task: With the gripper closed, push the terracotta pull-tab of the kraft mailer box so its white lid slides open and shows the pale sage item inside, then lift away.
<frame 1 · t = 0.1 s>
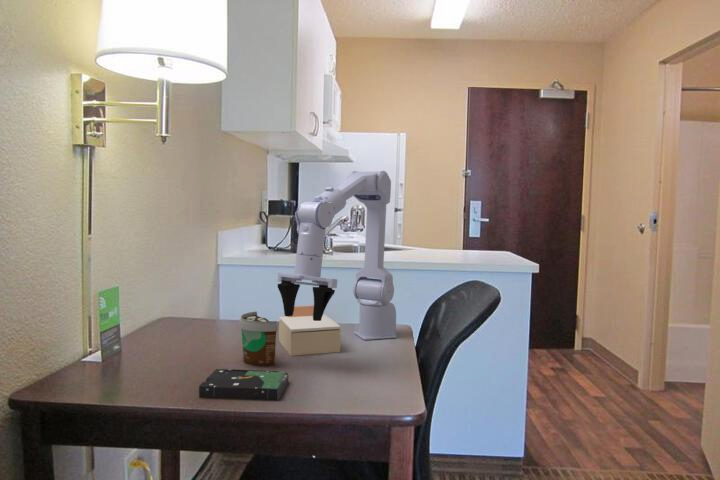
hand: (302, 318, 116), 11 cm above the table, tool pointing down, fingers open, 7 cm apart
disk drive: (245, 392, 102), on the table
mailer box: (308, 346, 133), on the table
lid: (308, 317, 132), point 7 cm above the table, slide at 0.0 cm
food container: (253, 362, 119), on the table
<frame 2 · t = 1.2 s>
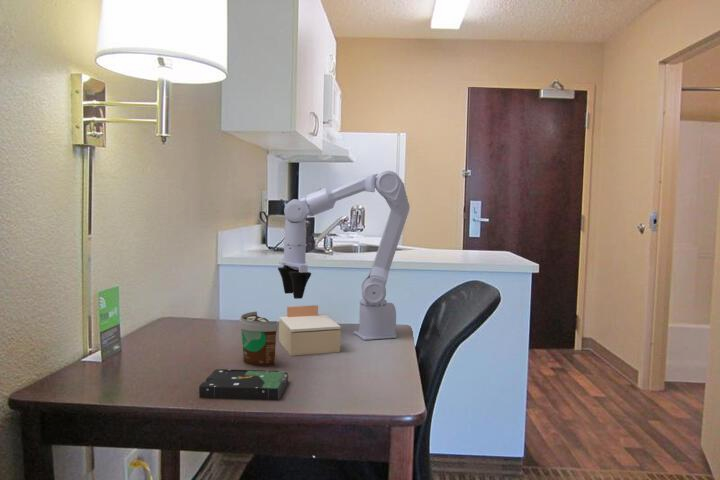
hand: (293, 295, 143), 10 cm above the table, tool pointing down, fingers open, 7 cm apart
nothing on the table moved.
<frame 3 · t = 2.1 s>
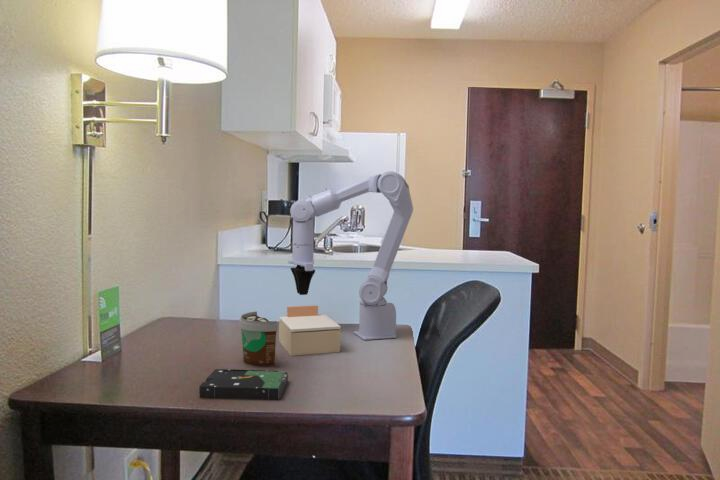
hand: (302, 293, 147), 10 cm above the table, tool pointing down, fingers closed
nothing on the table moved.
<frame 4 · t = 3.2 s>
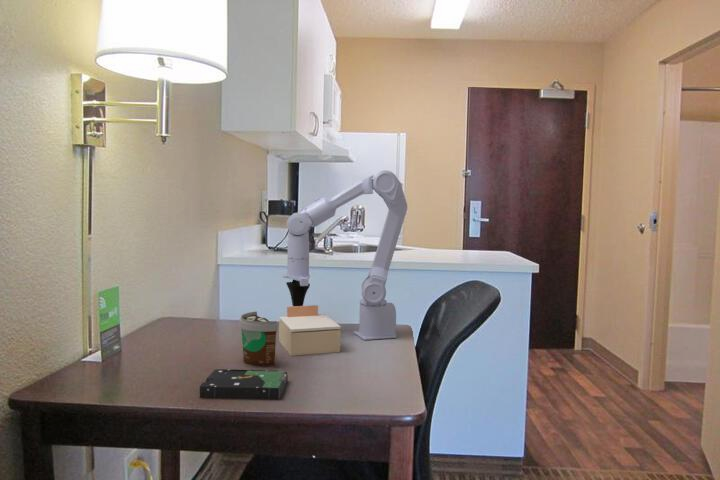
hand: (297, 308, 144), 7 cm above the table, tool pointing down, fingers closed
nothing on the table moved.
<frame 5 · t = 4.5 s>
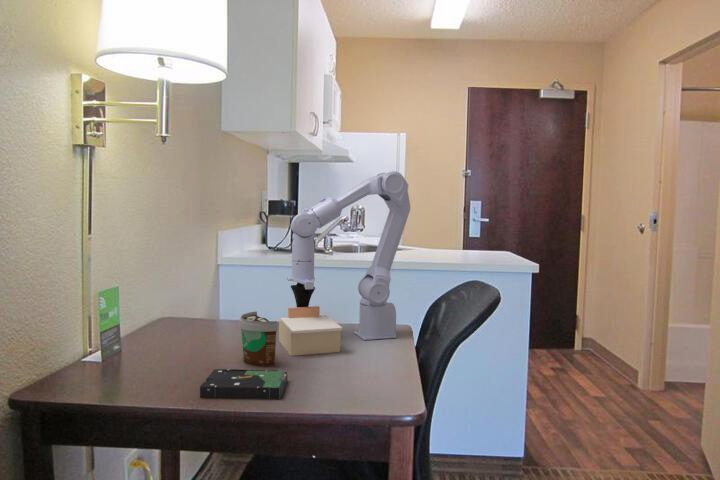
hand: (302, 312, 139), 7 cm above the table, tool pointing down, fingers closed
lid: (310, 318, 131), point 7 cm above the table, slide at 1.4 cm, touching gripper
everything else where it was.
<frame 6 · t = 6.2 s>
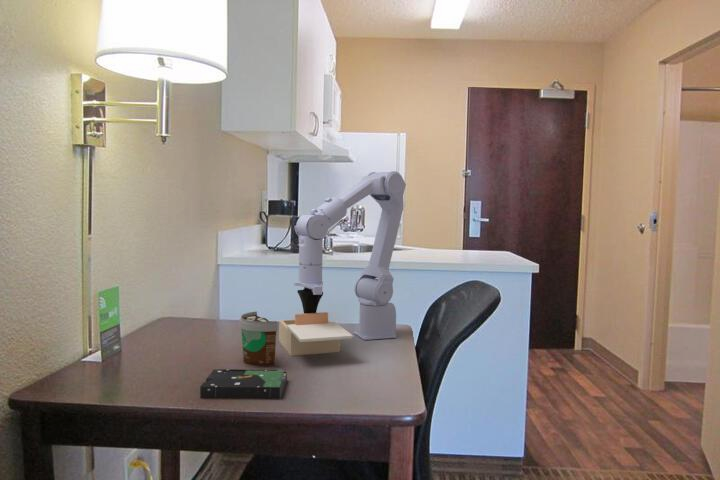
hand: (309, 319, 131), 7 cm above the table, tool pointing down, fingers closed
lid: (318, 325, 124), point 7 cm above the table, slide at 9.1 cm, touching gripper
everything else where it was.
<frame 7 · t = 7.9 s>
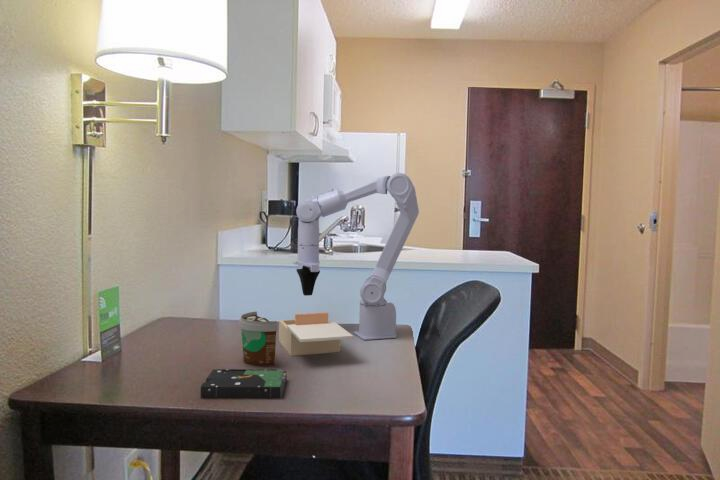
hand: (307, 295, 145), 10 cm above the table, tool pointing down, fingers closed
lid: (318, 326, 124), point 7 cm above the table, slide at 9.2 cm
everything else where it was.
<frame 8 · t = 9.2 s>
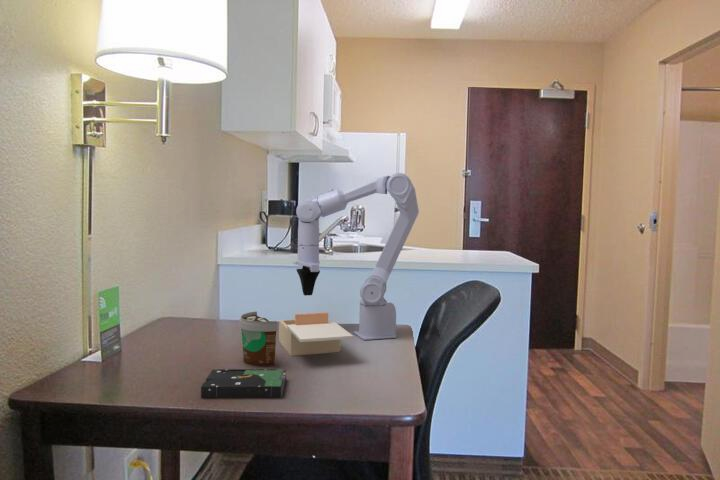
hand: (307, 295, 145), 10 cm above the table, tool pointing down, fingers closed
nothing on the table moved.
at the end: lid slide at 9.2 cm; food container moved 0.2 cm from its start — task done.
